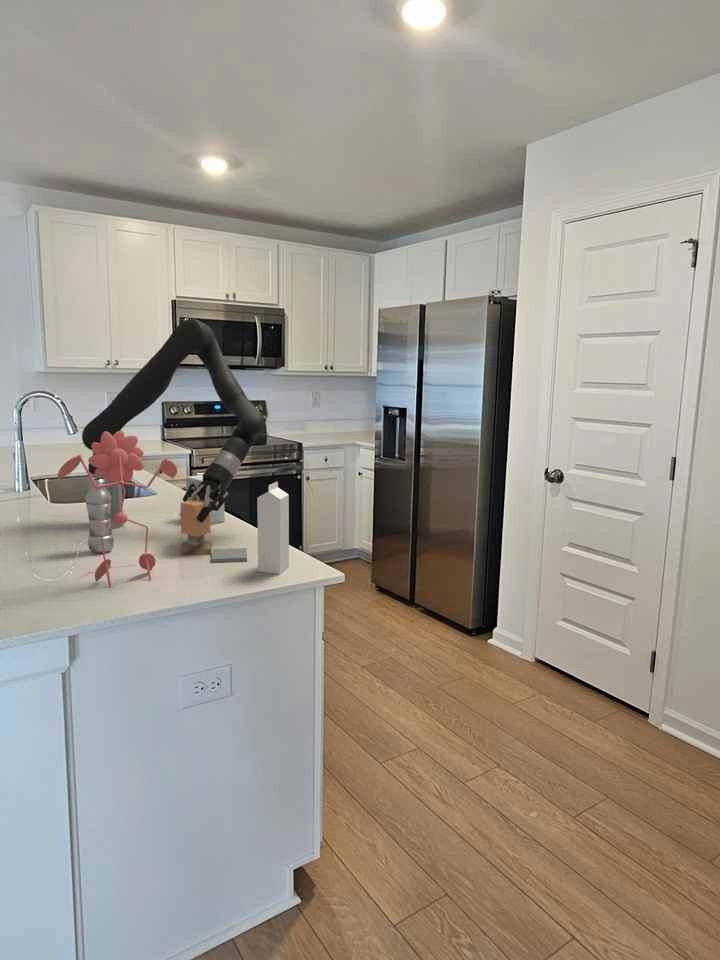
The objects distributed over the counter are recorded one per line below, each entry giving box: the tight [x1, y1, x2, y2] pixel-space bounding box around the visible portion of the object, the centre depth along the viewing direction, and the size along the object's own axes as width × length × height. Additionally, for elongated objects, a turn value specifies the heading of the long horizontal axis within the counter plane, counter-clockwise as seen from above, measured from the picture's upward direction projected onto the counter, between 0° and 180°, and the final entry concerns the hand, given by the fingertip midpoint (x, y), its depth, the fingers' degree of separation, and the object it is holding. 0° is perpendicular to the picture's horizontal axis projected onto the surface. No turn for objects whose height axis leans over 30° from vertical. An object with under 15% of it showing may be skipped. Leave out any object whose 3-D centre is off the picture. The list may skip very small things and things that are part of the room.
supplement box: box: [185, 474, 226, 525], centre depth 201 cm, size 9×9×15 cm
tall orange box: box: [180, 500, 211, 537], centre depth 169 cm, size 5×6×8 cm
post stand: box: [179, 535, 213, 556], centre depth 169 cm, size 11×11×12 cm
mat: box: [211, 547, 248, 564], centre depth 165 cm, size 9×9×1 cm
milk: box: [256, 481, 290, 575], centre depth 154 cm, size 6×6×22 cm
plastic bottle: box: [84, 478, 115, 554], centre depth 166 cm, size 6×7×20 cm
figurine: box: [57, 430, 178, 588], centre depth 146 cm, size 15×26×35 cm, turn 126°
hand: (190, 518), depth 167 cm, fingers closed on tall orange box, 6 cm apart
